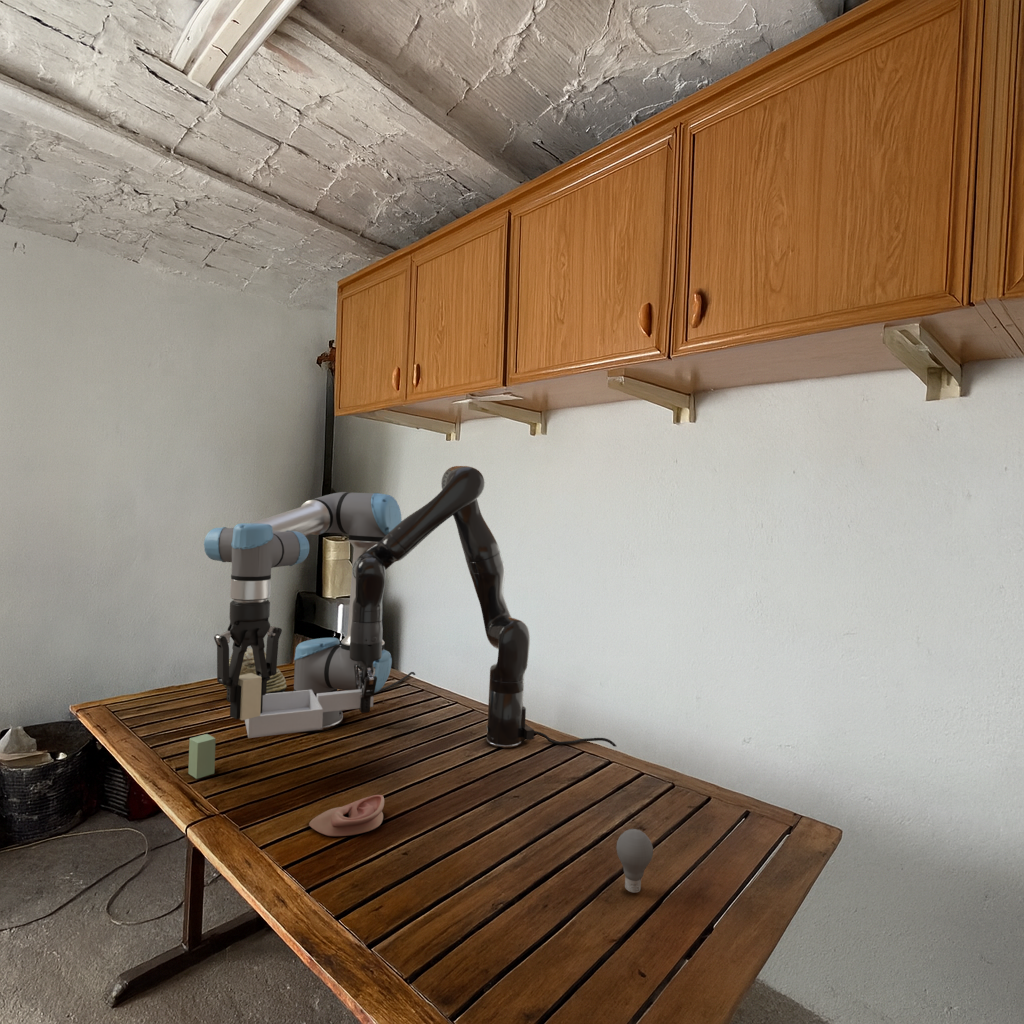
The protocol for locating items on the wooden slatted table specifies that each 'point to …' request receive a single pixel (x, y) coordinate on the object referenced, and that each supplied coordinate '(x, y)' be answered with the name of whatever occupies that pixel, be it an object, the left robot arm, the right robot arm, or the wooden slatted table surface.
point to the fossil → (248, 666)
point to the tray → (299, 711)
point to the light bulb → (634, 857)
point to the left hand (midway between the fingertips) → (246, 714)
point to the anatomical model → (351, 817)
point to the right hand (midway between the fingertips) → (363, 710)
